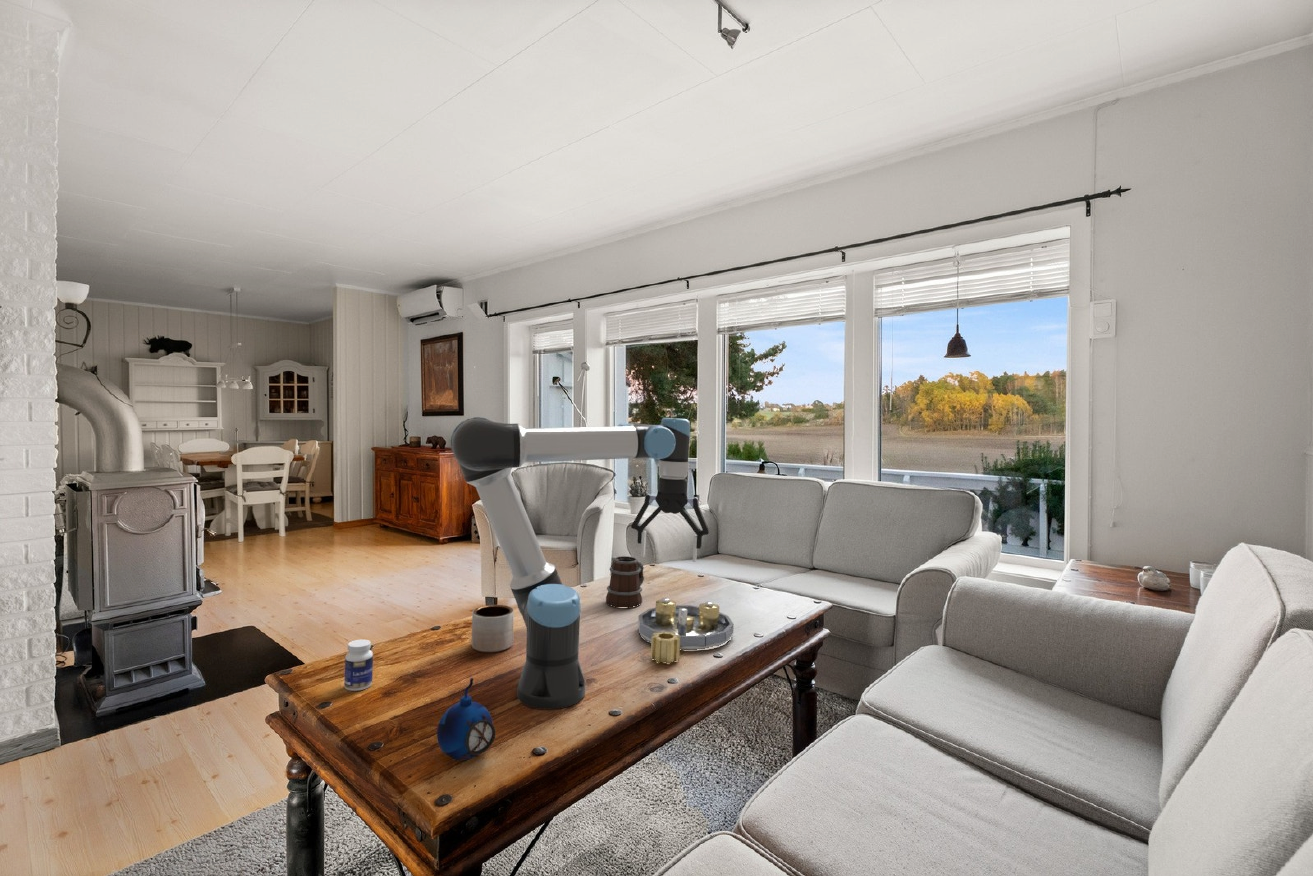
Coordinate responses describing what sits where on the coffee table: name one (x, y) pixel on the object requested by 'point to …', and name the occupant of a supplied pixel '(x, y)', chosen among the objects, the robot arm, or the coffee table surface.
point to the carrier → (687, 624)
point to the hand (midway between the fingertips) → (668, 558)
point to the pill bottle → (358, 665)
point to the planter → (492, 628)
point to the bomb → (465, 729)
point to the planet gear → (665, 647)
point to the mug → (625, 582)
